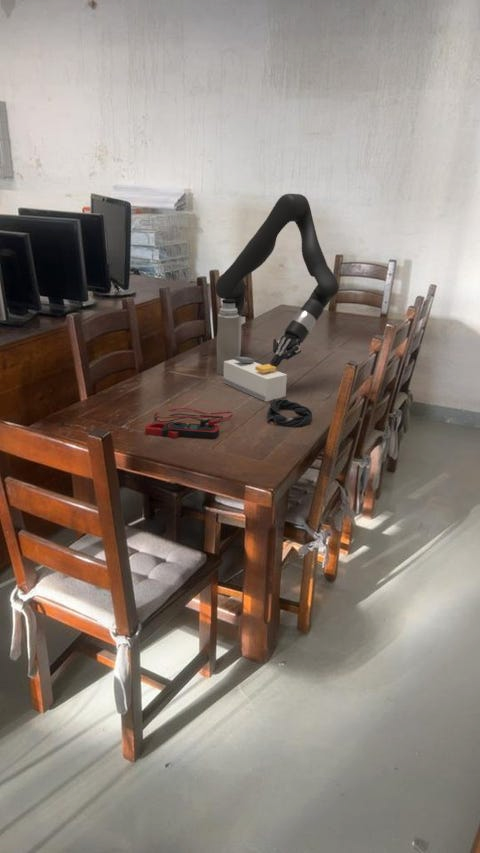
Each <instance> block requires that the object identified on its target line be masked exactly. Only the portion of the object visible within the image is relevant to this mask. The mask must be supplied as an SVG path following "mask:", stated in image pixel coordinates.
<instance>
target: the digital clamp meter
mask: <svg viewBox="0 0 480 853" xmlns="http://www.w3.org/2000/svg"><path fill="white" fill-rule="evenodd" d="M175 410H190V411H194V412H198V413H201V415H200V414H199V416H198V415H197V414H196V415H195V414H188V413H187V414H185V413H173V414H170V415H168V416H167V417H164V419H170V418H171V420H166V421H165V420H164V421H162V420H158V418H160V419H163V417H162V416H160V415H157V414H159V413H160V411H157V412H155V413H154V416H156V417H154V421H155V422H152V423H149V424H147V425H146V426H144V429H145V431H144V432H145V434H146V435H152V436H161V437H169V438H170V437H171V438H173V439H176V438H178V437H179V438H181V437H182V438H192V439H193V438H194V439H195V438H196V439H207V440H210V439H211V440H216V439H217V438H218V437H219V435H220V426H219V425H218V424H221V422H226V421H229V420H230V419H231V418H232V417H233V415H234V414H233V412H232V411H229V410H228V411H218V412H210V413H209V415H208V413H207V412H203V411H199V410H197V409H192V408H189V407H188V408H187V407H181V408H174V409H168V410H167V411H168V412H171V411H175ZM222 414H230V415H229V416H226V417H225V416H223V415H222ZM177 415H181V416H177ZM216 415H217V416H216ZM220 415H221V416H220ZM172 418H173V419H172ZM174 418H175V419H174ZM205 418H206V419H205ZM182 419H193V420H198V421H199V423H193V422H192V423H191V422H182V421H177V420H182ZM215 419H219V420H215ZM175 421H176V422H175Z"/></svg>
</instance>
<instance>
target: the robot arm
mask: <svg viewBox="0 0 480 853" xmlns="http://www.w3.org/2000/svg"><path fill="white" fill-rule="evenodd" d="M290 222H294V223H295V225H296V226H297V229H298V232H299V233H300V238H301V254H302V255H301V256H302V259H303V262H304V263H305V267H306V269H307V272H308V273H309V275H310V276H311V277H313V278H314V279H315V281H316V283H317V285H316V286H315V288H314V289H313V291H312V292H311V294H310V296H309V297H308V299H307V300H306V301H305V303H304V304H303V305H302V307H301V308H300V310H299V311H298V312H297V313H296V314H295V315H294V317H293V318H292V319H291V321H290V323H289V324H288V325H287V327H286V328H285V330H284V334H283V335H282V336H281V337H280V338H279V339H277V338H274V339H273V341H272V343H273V344H272V352H273V354H274V356H273V357H272V359H271V361H270V365H273V366H275V367H276V368H277V367H278V366H280V364H281V363H282V361H284V360H289V359H292V358H293V357H295V356H297V355H299V354H300V353H302V349H301V348H300V346H301V344H302V343H304V341H305V340H306V338H307V337H308V335H309V334H310V333H311V331H312V330H313V328H314V327H315V325H316V323H317V322H318V320H319V318H320V317H321V315H322V314H323V312H324V310H325V307H326V306H327V305H328V303H330V301H331V300H332V299H333V298H334V297H335V296H336V295H337V294H338V292H339V282H338V280H337V278H336V276H335V275H334V273H333V271H332V269H330V267H329V265H328V263H327V260H326V257H325V254H324V253H323V251H322V248H321V245H320V242H319V238H318V235H317V231H316V227H315V223H314V220H313V214H312V210H311V205H310V202H309V200H308V199H307V197H306V196H305V195H303V194H300V193H286V194H283V195H281V196H280V197H279V198H278V199H277V201H276V203H275V204H274V206H273V207H272V209H271V211H270V213H269V215H267V217H266V219H265V220H264V222H263V223H262V224H261V226H260V227H259V229H258V230H257V231H256V232H255V234H254V235H253V236H252V238H251V239H250V240H249V241H248V242H247V244H246V245H245V247H244V248H243V250H242V251H241V252H240V253H239V255H238V256H237V257H236V258H235V260H234V261H233V262H232V264H231V265H230V266H229V267H228V268H227V269H226V270H225V271H224V272H223V273H222V274H221V275H220V277H219V278H218V279H217V281H216V282H215V294H216V296H217V297H218V298H219V299H221V300H223V299H233V300H235V308H237V311H238V312H237V314H238V315H239V340H238V357H241V351H242V350H241V347H242V345H241V344H242V319H243V318H242V314H243V310H244V306H245V299H246V298H245V296H246V284H245V281H244V280H245V278H246V277H247V276H248V275H250V274H251V273H253V272H255V271H256V270H257V269H258V268H261V266H262V265H263V264H264V263H265V262H266V261H267V259H268V258H269V257H270V256H271V255H272V253H273V252H274V250H275V248H276V247H275V246H276V243H277V238H278V236H279V234H280V232H281V231H282V230H283V229H284V228H285V227H286V226H287V225H288V224H289V223H290ZM220 308H222V305H221V306H220V307H219V310H218V314H220V312H219V311H220ZM217 334H218V332H216V335H217Z"/></svg>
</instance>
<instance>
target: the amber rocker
mask: <svg viewBox="0 0 480 853" xmlns="http://www.w3.org/2000/svg"><path fill="white" fill-rule="evenodd" d="M255 370H257V371H259V372H262V373H265V372H268V373H270V371H275V370H276V371H277V367H275V366H273V365H271V364H269V363H267V364H266V363H265V364H261V366H255Z"/></svg>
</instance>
